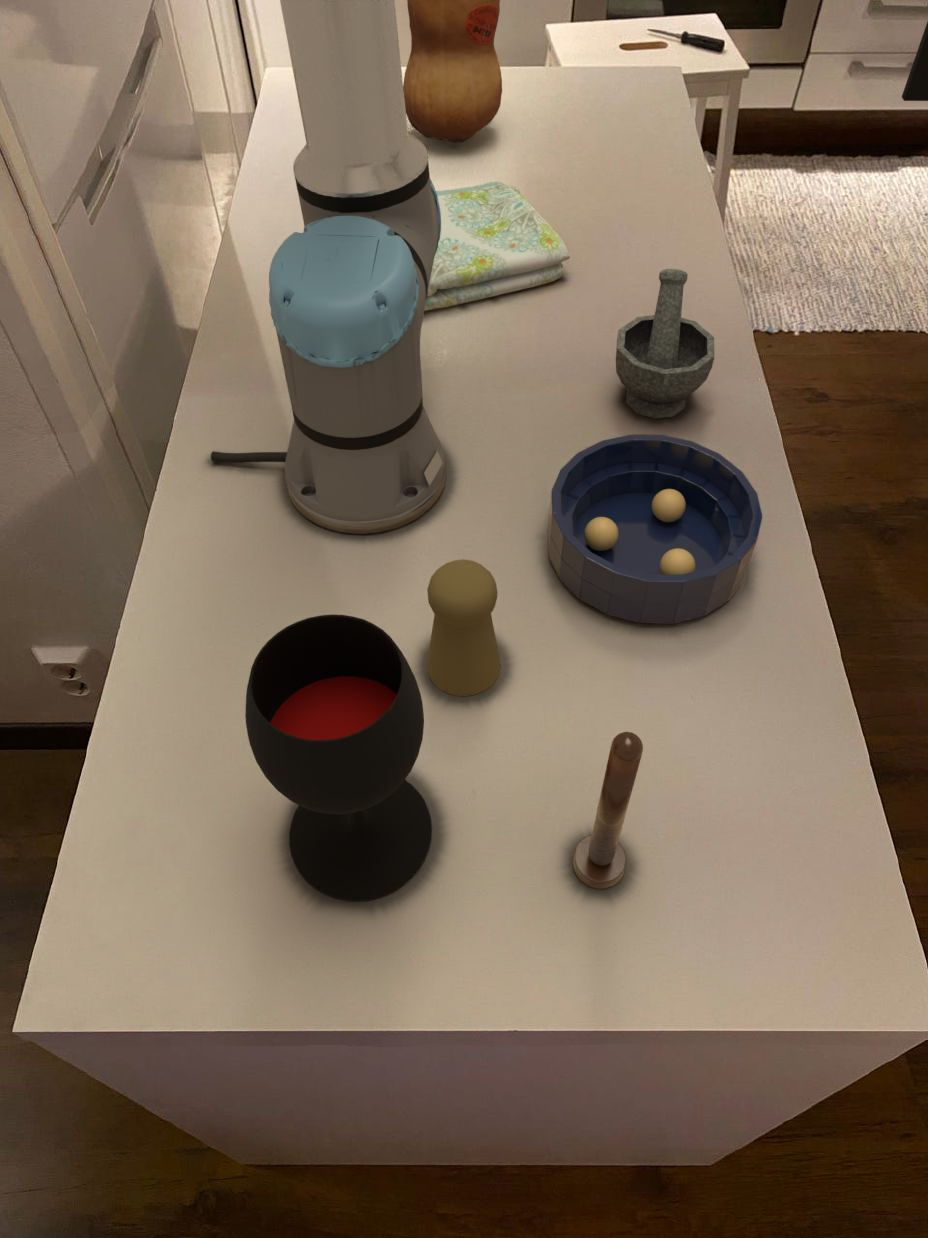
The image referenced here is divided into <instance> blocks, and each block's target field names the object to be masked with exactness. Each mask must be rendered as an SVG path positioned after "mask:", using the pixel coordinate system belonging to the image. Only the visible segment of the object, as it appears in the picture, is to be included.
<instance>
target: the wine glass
mask: <svg viewBox="0 0 928 1238" xmlns="http://www.w3.org/2000/svg"><path fill="white" fill-rule="evenodd" d="M424 713H425V712H424V704H423V698H422V694H421V691H420V688H419V684H418V681H417V679H416V675H415V674H414V671H413V670H412V668H411V666H410V664H409V662H408V659H407V658H406V657H405V654H404V653H403V651H402V650H401V648H400V647H399V646H398V644H396V642H395V641H394V639H393V638H392V637H391V635H389V633H387V632H386V631H385V630H384V629H383V628H381V627H379V626H378V625H376V624H375V623H372V622H371V621H368V620H367V619H364V618H360V617H356V616H353V615H348V614H347V615H346V614H322V615H321V614H320V615H316V616H310V617H307V618H304V619H301V620H299V621H296V622H294V623H291V624H289V625H287V626H286V627H284V628H283V629H281V630H279V631H278V632H277V633H275V634H274V635H273V636H272V637H270V639H269V640H268V641H267V642H265V644H264V645H263V646H262V647H261V648H260V650H259V651H258V653H257V655H256V656H255V658H254V661H253V662H252V664H251V668H250V672H249V677H248V682H247V687H246V694H245V713H244V714H245V715H244V717H245V726H246V733H247V738H248V743H249V746H250V748H251V752H252V754H253V757H254V759H255V762H256V764H257V766H259V769H260V770H261V772H262V774H263V775H264V777H265V779H266V780H267V781H268V782H269V783H270V784H271V785H272V786H273V787H274V789H275V790H276V791H277V792H278V793H280V794H281V795H282V796H284V798H286V799H287V800H289V801H290V802H292V803H294V804H296V805H298V806H297V807H296V809H295V811H294V813H293V815H292V818H291V822H290V826H289V833H288V845H289V851H290V855H291V858H292V861H293V864H294V866H295V868H296V869H297V871H298V873H299V875H300V876H301V877H302V878H303V880H304V881H305V882H306V883H307V884H308V885H309V886H311V887H312V888H313V889H315V890H316V891H317V892H319V893H321V894H322V895H325V896H327V897H329V898H332V899H334V900H339V901H345V902H367V901H372V900H377V899H380V898H383V897H386V896H388V895H390V894H393V893H394V892H395V891H398V890H399V889H401V888H402V887H403V886H405V885H406V884H407V883H408V882H410V881H411V879H412V878H413V877H414V876H415V875H416V874H417V873H418V872H419V871H420V869H421V867H422V866H423V864H424V863H425V861H426V859H427V856H428V854H429V852H430V849H431V848H430V847H431V844H432V838H433V837H432V836H433V835H432V834H433V827H432V826H433V825H432V818H431V814H430V810H429V807H428V806H427V805H428V804H427V803H426V801H425V799H424V797H423V796H422V795H421V793H420V792H419V791H418V790H417V789H416V787H414V785H412V784H411V783H410V782H409V781H408V780H406V779H407V777H408V776H409V775H410V773H411V772H412V770H413V768H414V766H415V763H416V762H417V759H418V756H419V755H420V750H421V746H422V744H423V739H424V727H425V714H424Z"/></svg>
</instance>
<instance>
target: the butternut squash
mask: <svg viewBox="0 0 928 1238" xmlns="http://www.w3.org/2000/svg"><path fill="white" fill-rule="evenodd" d="M406 1H407V2H406V3H407V4H406V5H407V11H408V12H407V13H408V19H409V20H408V21H409V22H408V23H409V30H410V38H411V39H410V41H411V45H410V54H409V57H408V60H407V64H406V68H405V71H404V76H403V90H404V100H405V110H406V118H407V120H408V122H409V123H410V126H411V127H412V128H413V129H414V130H416V131H417V132H418V133H420V134H421V135H422V136H423V137H424V138H428V139H434V140H440V141H442V140H443V141H448V142H450V143H462V142H465V141H467V140H469V139H471V138H472V137H473V136H474V135H476V134H478V133H479V132H480V131H481V130H483V129H484V128H485V127H486V126H488V125H489V124H491V122H492V121H493V120H494V119H495V117H496V116H497V114H498V113H499V110H500V108H501V102H502V93H503V79H502V78H503V77H502V71H501V65H500V62H499V58H498V54H497V52H496V49H495V48H496V47H495V35H496V32H497V27H498V23H499V17H500V13H501V12H500V11H501V8H500V4H501V0H406Z"/></svg>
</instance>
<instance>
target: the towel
mask: <svg viewBox="0 0 928 1238" xmlns="http://www.w3.org/2000/svg"><path fill="white" fill-rule="evenodd" d="M436 193H437V196H438V201H439V206H440V212H441V234H440V240H439V242H438V248H437V251H436V254H435V257H434V262H433V267H432V272H431V277H430V282H429V287H428V293H427V299H426V303H425V309H424V312H426V311H430V310H437V309H441V308H449V307H452V306H457V305H462V304H465V303H470V302H474V301H479V300H483V299H484V300H485V299H487V298H492V297H496V296H500V295H504V294H505V295H506V294H509V293H512V292H518V291H522V290H526V289H531V288H535V287H538V286H542V285H546V284H549V283H552V282H555V281H556V280H559V279H561V278H562V276H563V273H564V270H563V268H564V265H563V262H565V261H567V260H569V259H570V258H571V255H570V254H569V249H568V247H567V246H566V244H565V242H564V241H563V240H562V238H561V236H560V235H559V234H558V233H557V232H556V231H555V230H554V229H553V227H552V226H551V225H550V224H549V223H548V221H546V220H545V219H544V218H543V217H542V215H540V213H539V212H538V211H537V210H536V209H535V208H534V206H533V205H532V204H531V203H530V201H529V200H528V199H527V197H526V195H524V194H523V193H522V191H520V189H518V188H516V187H515V186H509V185H507V184H505V183H504V182H502V181H492V182H491V181H490V182H487V183H483V184H478V185H474V186H466V187H460V188H454V189H453V188H452V189H442V190H436Z"/></svg>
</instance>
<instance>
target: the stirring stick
mask: <svg viewBox="0 0 928 1238" xmlns="http://www.w3.org/2000/svg"><path fill="white" fill-rule="evenodd" d="M643 751H644V745H643V741H642V739H641V738H640V737H639V736H638V735H637V734H636V733H634V732H631V731H622V732H620V733H618V734H617V735H615V736H614V738H613V739H612V741H611V744H610V749H609V753H608V758H607V763H606V767H605V773H604V777H603V781H602V785H601V786H602V787H601V791H600V795H599V800H598V804H597V809H596V814H595V818H594V822H593V826H592V832H591V834H590V835H589V834H588V835H587V836H585V837H584V838H582V839H581V840H580V841H579V842H578V843H577V845H576V847H575V850H574V853H573V860H572V866H573V871H574V873H575V875H576V877H577V878H578V879H579V880H580V881H581V882H582V883H583V884H585V885H586V886H588V887H590V888H594V889H597V890H598V889H599V890H600V889H601V890H602V889H603V890H604V889H607V888H611V887H613V886H615V885H616V884H618V883H619V881H621V879H622V877H623V875H624V873H625V869H626V865H627V855H626V851H625V849H624V848H623V846H622V845H621V844H620V842H619V841H620V837H621V833H622V829H623V826H624V822H625V819H626V814H627V811H628V807H629V803H630V801H631V800H630V799H631V797H632V792H633V789H634V785H635V782H636V778H637V774H638V771H639V766H640V763H641V759H642V755H643Z"/></svg>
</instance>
